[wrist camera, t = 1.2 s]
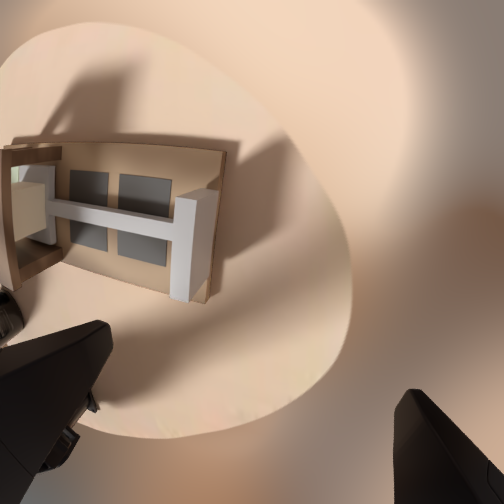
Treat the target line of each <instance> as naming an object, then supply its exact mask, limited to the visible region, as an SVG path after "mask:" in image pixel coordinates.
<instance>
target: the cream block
mask: <svg viewBox="0 0 504 504" xmlns="http://www.w3.org/2000/svg"><path fill="white" fill-rule="evenodd" d="M11 197H12V217H13V229H14V239H15V241H16V240H19V239H21V238H23V237H26V236H28V235H31V234H33V233H36V232H38V231H41V230H43V229H46V213H45V184H43V183H33V182H24V181H21V182H17V183H12V184H11Z"/></svg>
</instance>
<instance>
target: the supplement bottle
mask: <svg viewBox="0 0 504 504" xmlns="http://www.w3.org/2000/svg"><path fill="white" fill-rule="evenodd" d="M22 329H23V319H22V315H21V312H20V310H19V308H18V306H17V304H16V302H15V301H14V299H13V298H12V297H11V295H10V294H9V293H8V292H6V291H5V290H0V348H1V347H2V346H3V345H5V344H6V343H7V342H8V341H10V340H11V339H12V338H14V337H15V336H16V335H17V334H19V333H20V332H21V331H22Z"/></svg>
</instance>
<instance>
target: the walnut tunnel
mask: <svg viewBox="0 0 504 504" xmlns="http://www.w3.org/2000/svg"><path fill="white" fill-rule="evenodd" d="M61 157H62V146H50V147H39V148H32V147H22V148H14V149H0V284H2V285H3V286H5V287H7V288H8V289H10V290H12V291H15V290H17V289H19V288H20V287H22V284H21V283H22V282H24V281H26V280H27V279H29V278H31V277H33V276H35V275H36V274H38V273H40V272H42V271H43V270H45V269H47V268H49V267H51V266H53V265H54V264H56V263H58V262H60V261H62V260H63V249H62V247H59V246H56V245H49V244H46V243H43V242H40V241H36V240H33V239H30V238H27V237H25V238H23V239H20V240H18V241H16V242H15V239H14V229H13V217H12V197H11V167H17V166H23V165H29V164H35V163H42V162H49V161H56V160H61Z"/></svg>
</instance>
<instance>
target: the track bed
mask: <svg viewBox="0 0 504 504" xmlns="http://www.w3.org/2000/svg"><path fill="white" fill-rule="evenodd" d="M50 146H62V157H61V160H56V161H49V162H42V163H35V164H29V165H50V166H55V199H61V200H67V201H73V202H79V203H85V204H91V205H97V206H103V207H109V208H114V209H120V210H126V211H131V212H137V213H143V214H148V215H154V216H159V217H165V218H170V219H174V209H175V197H177V196H180V195H182V194H185V193H188V192H191V191H194V190H197V189H200V188H205V189H211V190H217V191H219V195H218V202H217V210H216V219H215V227H214V236H213V244H212V254H211V263H210V273H209V277H208V278H207V280H206V281H205V282H204V284H203V285H202V286H201V287H200V289H199V290H198V291H197V293H196V294H195V295H194V296H193V298H192V299H191V301H195V302H199V303H203V304H205V303H206V302H207V300H208V299H209V293H210V283H211V273H212V264H213V254H214V246H215V237H216V228H217V220H218V212H219V204H220V196H221V189H222V181H223V174H224V167H225V160H226V153H227V152H224V151H216V150H208V149H198V148H189V147H178V146H166V145H152V144H135V143H109V142H57V143H33V144H17V145H6V146H4V149H14V148H22V147H32V148H39V147H50ZM17 182H19V166H17V167H11V184H12V183H17ZM55 227H56V243H54V244H52V245H56V246H59V247H62V249H63V260H62V261H61V262H64V263H66V264H69V265H72V266H75V267H78V268H81V269H84V270H88V271H91V272H94V273H97V274H100V275H103V276H106V277H110V278H113V279H116V280H119V281H123V282H126V283H129V284H133V285H136V286H140V287H143V288H147V289H150V290H154V291H157V292H161V293H164V294H168V295H170V273H171V252H172V241H169V240H165V239H160V238H155V237H151V236H146V235H141V234H136V233H132V232H127V231H122V230H118V229H113V228H108V227H104V226H99V225H95V224H90V223H85V222H81V221H76V220H71V219H67V218H62V217H58V216H55ZM23 238H25V237H23ZM23 238H21V239H23ZM19 240H20V239H19ZM16 241H18V240H16ZM16 241H15V242H16Z"/></svg>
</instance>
